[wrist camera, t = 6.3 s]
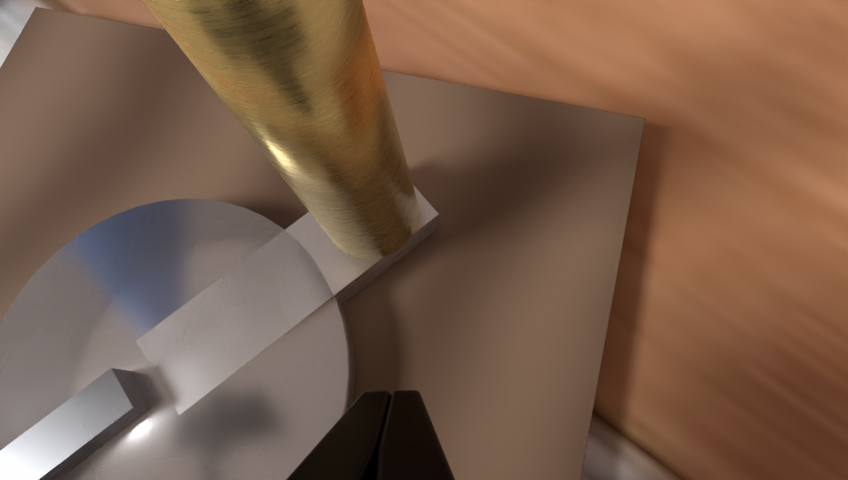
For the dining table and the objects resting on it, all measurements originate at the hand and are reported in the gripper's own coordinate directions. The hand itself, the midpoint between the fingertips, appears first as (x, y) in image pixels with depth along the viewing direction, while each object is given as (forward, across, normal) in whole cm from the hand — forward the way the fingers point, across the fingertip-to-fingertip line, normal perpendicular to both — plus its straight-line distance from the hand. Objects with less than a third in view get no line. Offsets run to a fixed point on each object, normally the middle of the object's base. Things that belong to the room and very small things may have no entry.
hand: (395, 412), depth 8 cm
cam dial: (+5, +7, +3) cm, 9 cm away
